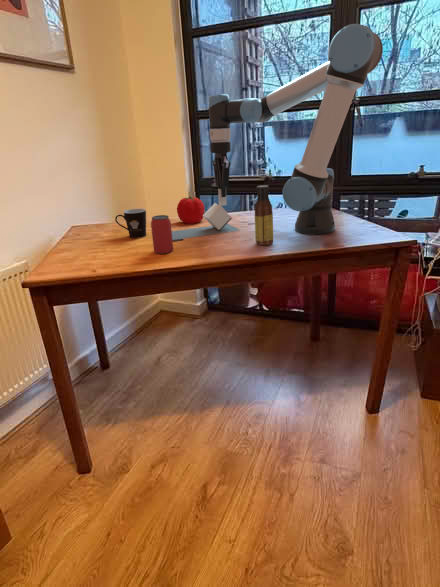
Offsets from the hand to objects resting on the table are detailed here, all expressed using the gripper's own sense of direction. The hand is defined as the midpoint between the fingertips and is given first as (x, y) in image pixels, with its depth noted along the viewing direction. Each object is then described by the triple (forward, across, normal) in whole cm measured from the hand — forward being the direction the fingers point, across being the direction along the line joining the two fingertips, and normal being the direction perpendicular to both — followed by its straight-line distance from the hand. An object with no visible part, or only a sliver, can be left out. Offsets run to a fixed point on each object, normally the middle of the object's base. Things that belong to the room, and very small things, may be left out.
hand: (222, 205), depth 151 cm
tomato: (+10, -19, -8) cm, 23 cm away
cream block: (+7, 0, 0) cm, 7 cm away
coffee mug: (+10, -10, -34) cm, 37 cm away
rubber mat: (+10, 0, -9) cm, 14 cm away
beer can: (+10, +17, -29) cm, 36 cm away
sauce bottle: (+10, +26, +5) cm, 28 cm away
